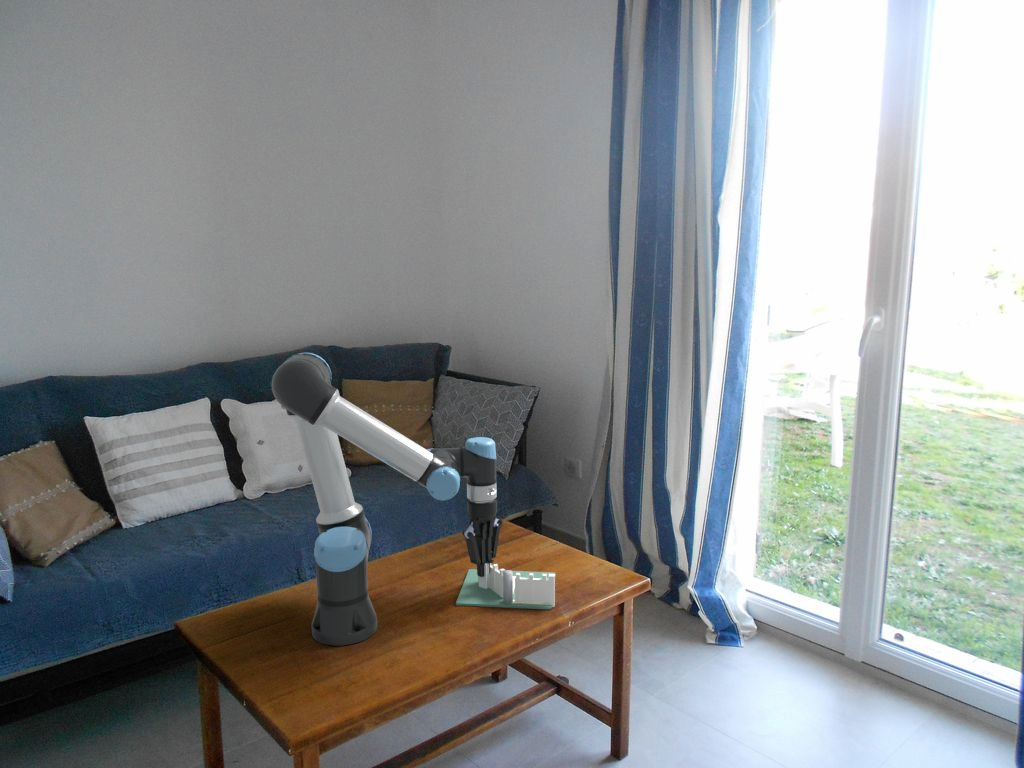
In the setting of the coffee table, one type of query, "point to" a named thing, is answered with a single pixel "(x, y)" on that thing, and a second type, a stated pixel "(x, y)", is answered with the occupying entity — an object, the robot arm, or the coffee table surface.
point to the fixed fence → (529, 588)
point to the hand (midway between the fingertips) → (484, 586)
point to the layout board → (489, 598)
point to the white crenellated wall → (496, 579)
